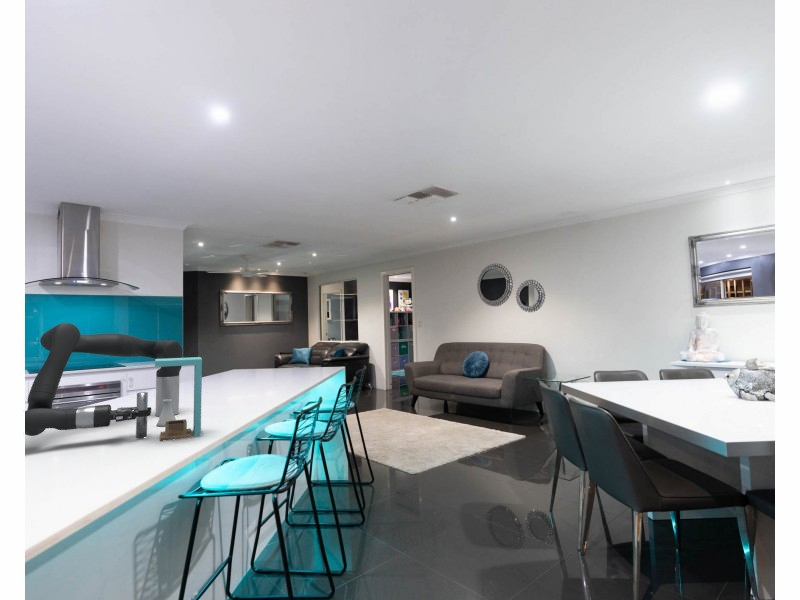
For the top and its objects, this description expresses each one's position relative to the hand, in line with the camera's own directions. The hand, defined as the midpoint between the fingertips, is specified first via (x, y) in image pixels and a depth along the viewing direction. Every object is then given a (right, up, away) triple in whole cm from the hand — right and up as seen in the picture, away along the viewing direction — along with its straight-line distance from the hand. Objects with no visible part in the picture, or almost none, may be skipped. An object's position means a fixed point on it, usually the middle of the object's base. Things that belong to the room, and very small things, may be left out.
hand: (150, 411), depth 156 cm
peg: (-2, -9, -2) cm, 9 cm away
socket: (+9, -9, 0) cm, 13 cm away
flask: (-3, -10, +17) cm, 20 cm away
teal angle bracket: (+9, -9, 0) cm, 13 cm away
